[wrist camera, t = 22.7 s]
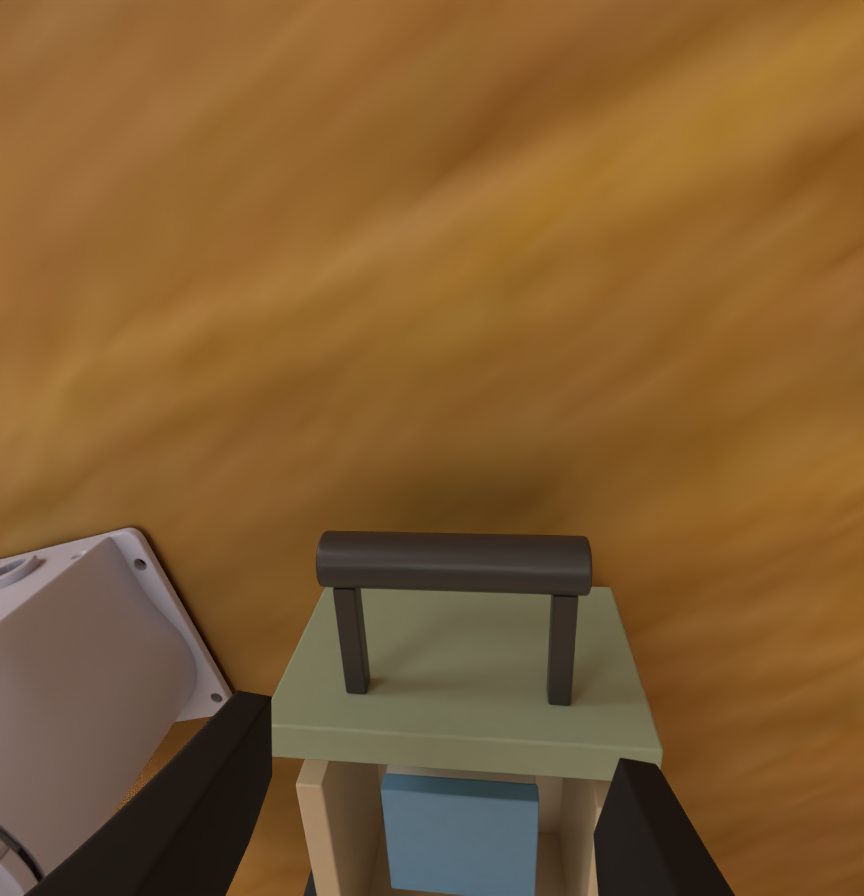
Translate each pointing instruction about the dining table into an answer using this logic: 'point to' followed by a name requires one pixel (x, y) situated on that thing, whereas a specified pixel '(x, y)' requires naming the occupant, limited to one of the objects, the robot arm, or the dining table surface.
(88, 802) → the robot arm
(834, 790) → the dining table surface
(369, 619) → the drawer
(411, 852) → the blue tan box
